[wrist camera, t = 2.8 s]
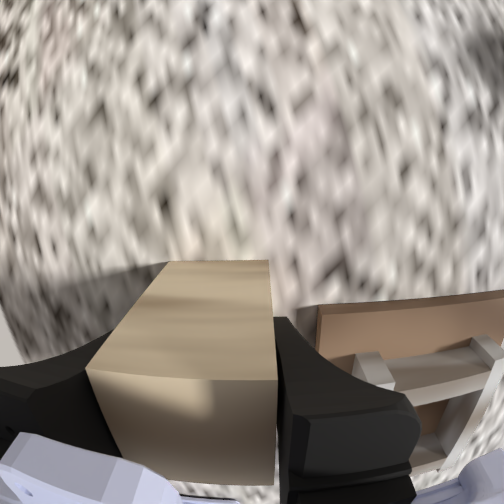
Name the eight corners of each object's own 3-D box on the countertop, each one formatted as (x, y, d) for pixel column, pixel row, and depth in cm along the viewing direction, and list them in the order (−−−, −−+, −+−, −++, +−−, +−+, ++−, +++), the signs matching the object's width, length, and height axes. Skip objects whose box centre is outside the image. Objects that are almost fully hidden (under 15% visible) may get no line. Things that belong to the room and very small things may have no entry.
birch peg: (268, 345, 15) (273, 485, 7) (180, 345, 15) (131, 473, 7) (268, 259, 14) (277, 380, 6) (169, 261, 14) (85, 367, 6)
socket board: (444, 447, 18) (459, 476, 15) (299, 473, 18) (303, 512, 15) (506, 289, 14) (541, 314, 11) (318, 304, 14) (333, 346, 11)
